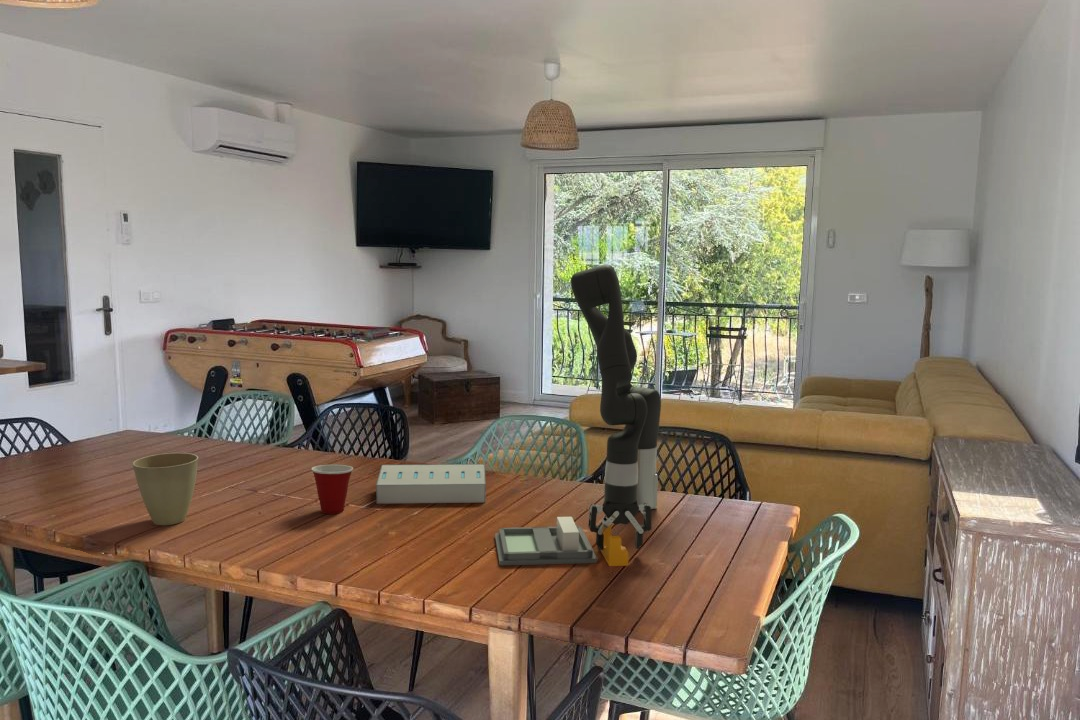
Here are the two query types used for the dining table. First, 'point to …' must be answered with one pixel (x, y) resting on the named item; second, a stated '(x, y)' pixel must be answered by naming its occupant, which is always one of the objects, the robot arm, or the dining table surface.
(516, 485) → the dining table surface
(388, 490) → the warehouse
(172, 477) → the plant pot
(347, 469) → the plastic cup
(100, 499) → the dining table surface
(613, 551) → the orange stepped block
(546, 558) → the dock
